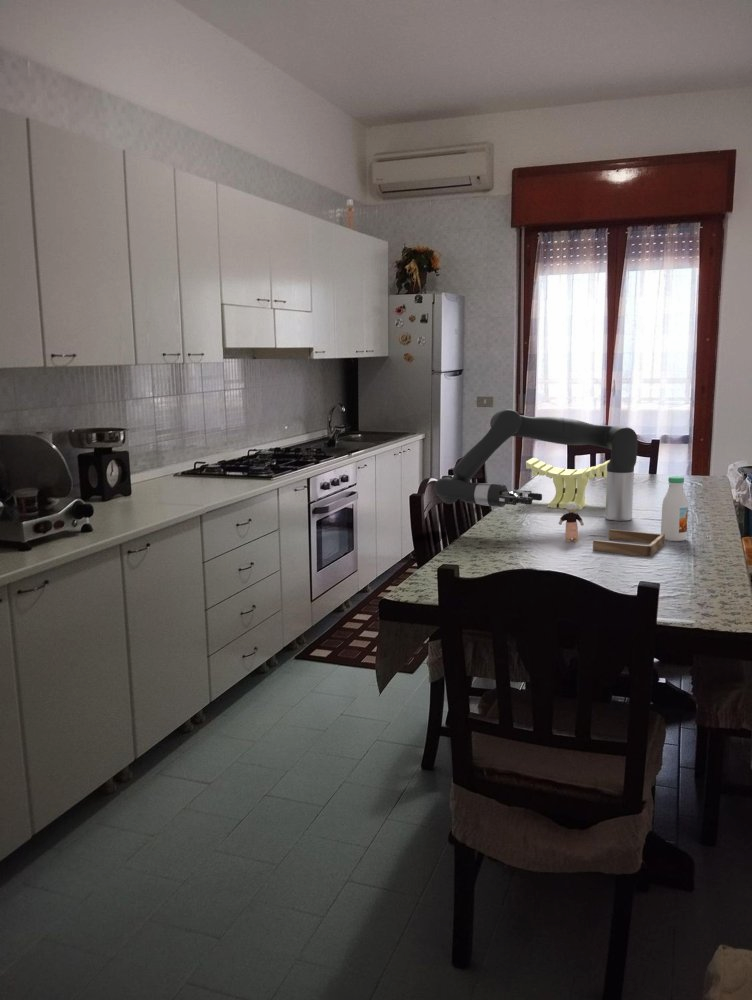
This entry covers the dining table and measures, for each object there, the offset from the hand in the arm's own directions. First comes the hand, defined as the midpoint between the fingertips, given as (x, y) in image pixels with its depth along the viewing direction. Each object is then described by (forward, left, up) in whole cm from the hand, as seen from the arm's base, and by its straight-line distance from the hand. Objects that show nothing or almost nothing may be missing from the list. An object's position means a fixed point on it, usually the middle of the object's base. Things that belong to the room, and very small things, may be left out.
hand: (536, 499), depth 258 cm
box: (0, +29, -13) cm, 32 cm away
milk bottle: (-17, +39, -13) cm, 45 cm away
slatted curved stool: (-59, -10, -13) cm, 61 cm away
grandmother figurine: (0, +11, -13) cm, 17 cm away
